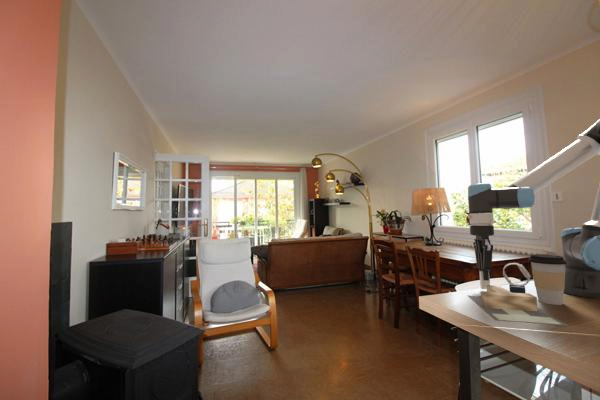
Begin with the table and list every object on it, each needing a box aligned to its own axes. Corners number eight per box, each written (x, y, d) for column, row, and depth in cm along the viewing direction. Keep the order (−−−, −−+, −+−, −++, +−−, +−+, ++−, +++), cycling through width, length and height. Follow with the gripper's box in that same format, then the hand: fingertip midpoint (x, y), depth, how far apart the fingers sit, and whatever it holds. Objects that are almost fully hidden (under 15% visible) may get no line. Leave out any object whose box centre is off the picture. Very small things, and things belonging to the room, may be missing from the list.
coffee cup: (579, 307, 83) (575, 257, 84) (548, 307, 84) (544, 258, 84) (551, 298, 93) (548, 253, 94) (523, 298, 93) (520, 254, 94)
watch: (533, 298, 93) (530, 265, 94) (503, 294, 98) (501, 263, 99) (531, 294, 98) (529, 263, 99) (504, 290, 103) (502, 261, 103)
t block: (515, 298, 92) (515, 286, 93) (537, 311, 80) (536, 297, 80) (472, 296, 96) (471, 284, 96) (486, 308, 83) (486, 294, 84)
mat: (520, 299, 92) (520, 298, 92) (568, 326, 69) (568, 325, 69) (467, 296, 97) (467, 295, 97) (495, 321, 74) (495, 320, 74)
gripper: (464, 224, 110) (468, 283, 109) (476, 225, 98) (480, 292, 96) (486, 224, 108) (490, 284, 106) (500, 225, 96) (504, 293, 94)
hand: (485, 288), depth 101 cm, fingers closed
